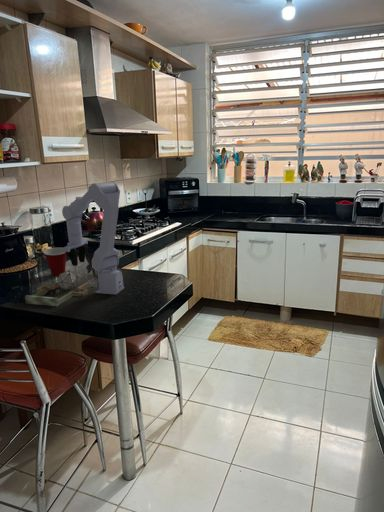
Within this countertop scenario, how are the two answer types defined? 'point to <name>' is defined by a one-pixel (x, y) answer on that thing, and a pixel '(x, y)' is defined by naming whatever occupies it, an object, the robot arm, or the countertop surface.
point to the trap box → (53, 301)
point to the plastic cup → (56, 260)
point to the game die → (66, 280)
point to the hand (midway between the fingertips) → (78, 263)
